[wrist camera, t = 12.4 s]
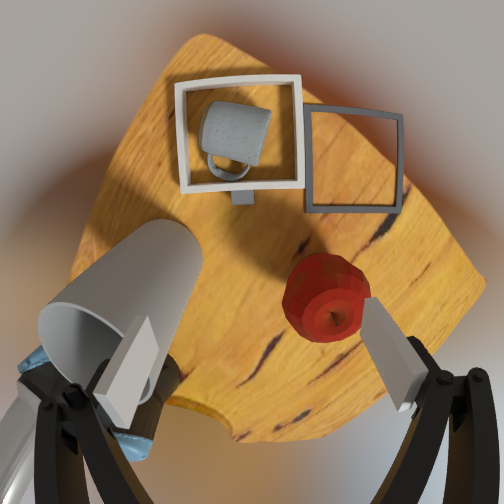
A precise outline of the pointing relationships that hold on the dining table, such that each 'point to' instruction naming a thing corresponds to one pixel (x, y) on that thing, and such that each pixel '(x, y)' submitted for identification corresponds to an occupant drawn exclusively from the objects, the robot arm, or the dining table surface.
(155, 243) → the cylinder vase
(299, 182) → the socket
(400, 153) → the tray outline
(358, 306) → the apple
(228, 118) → the ceramic mug
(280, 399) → the dining table surface
